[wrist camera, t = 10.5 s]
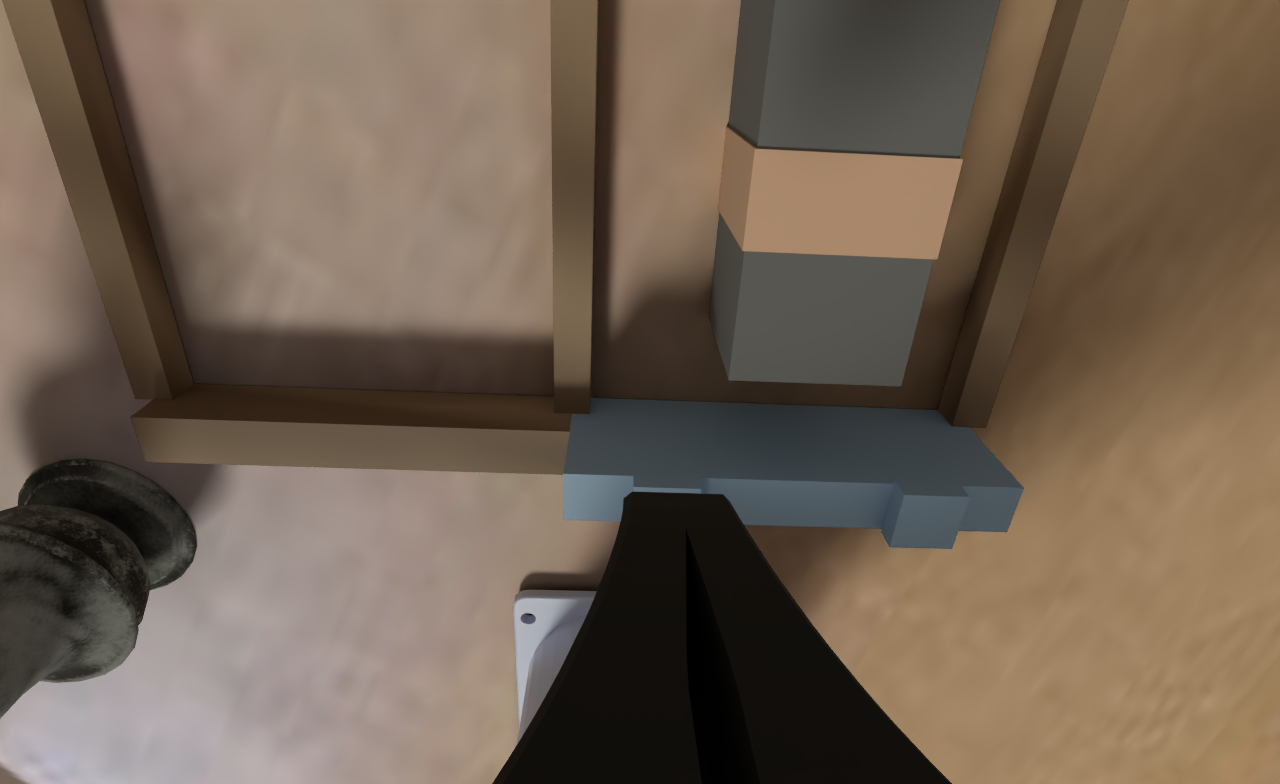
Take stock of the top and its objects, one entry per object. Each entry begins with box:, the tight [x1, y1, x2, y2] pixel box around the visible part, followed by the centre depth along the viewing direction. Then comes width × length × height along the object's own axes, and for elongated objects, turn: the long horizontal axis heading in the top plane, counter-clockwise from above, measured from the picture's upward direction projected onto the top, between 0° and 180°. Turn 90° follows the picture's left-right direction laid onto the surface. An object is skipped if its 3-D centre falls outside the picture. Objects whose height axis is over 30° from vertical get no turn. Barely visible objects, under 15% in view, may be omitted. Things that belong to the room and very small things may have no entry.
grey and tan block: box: [709, 0, 1000, 386], centre depth 15 cm, size 8×4×4 cm, turn 177°
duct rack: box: [2, 0, 1129, 549], centre depth 15 cm, size 13×24×5 cm, turn 87°
